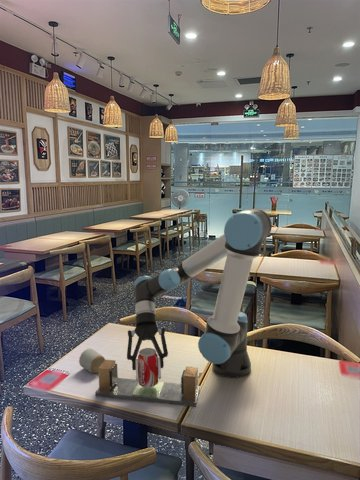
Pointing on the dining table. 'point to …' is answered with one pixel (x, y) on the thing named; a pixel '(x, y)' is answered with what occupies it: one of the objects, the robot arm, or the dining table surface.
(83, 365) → the ceramic mug
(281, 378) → the dining table surface
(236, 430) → the dining table surface
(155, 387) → the rail
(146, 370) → the soda can
